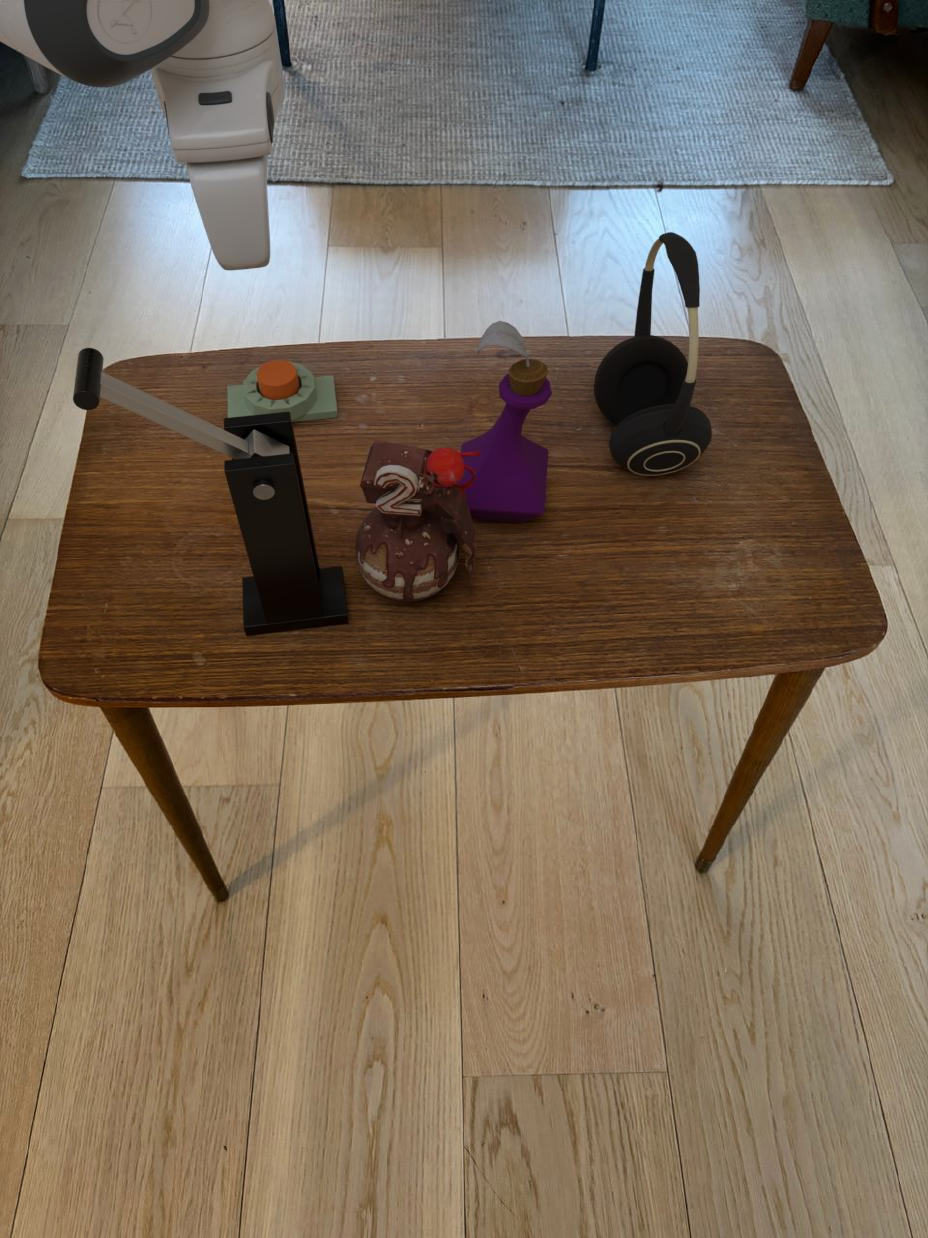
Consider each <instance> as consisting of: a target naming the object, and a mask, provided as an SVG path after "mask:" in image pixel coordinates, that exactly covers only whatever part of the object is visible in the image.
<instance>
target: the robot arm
mask: <svg viewBox="0 0 928 1238" xmlns="http://www.w3.org/2000/svg"><path fill="white" fill-rule="evenodd" d="M0 43H2V44H4V45H6V46H7V47H10V48H11V49H13V50H14V51H16V52H18V53H19V54H21V55H23V56H25V57H27V58H29V59H30V60H32V61H35V62H36V63H37V64H39V65H41V66H43V67H45V68H47V69H48V70H51V71H52V72H54V73H56V74H58V75H60V76H63V77H64V78H66V79H67V80H71V81H74V82H76V83H78V84H79V85H83V86H87V87H92V88H100V89H101V88H112V87H118V86H121V85H124V84H126V83H129V82H131V81H133V80H134V79H136V78H139V77H140V76H142V75H144V74H145V73H147V72H149V71H150V72H151V75H152V79H153V83H154V87H155V92H156V95H157V99H158V103H159V107H160V109H161V111H162V112H163V115H164V117H165V119H166V127H167V132H168V133H167V134H168V137H169V143H170V146H171V150H172V155H173V158H174V160H175V162H176V163H179V164H185V166H186V171H187V175H188V179H189V183H190V187H191V189H192V194H193V196H194V199H195V203H196V206H197V209H198V212H199V216H200V219H201V221H202V224H203V227H204V231H205V233H206V236H207V239H208V243H209V245H210V248H211V251H212V254H213V256H214V259H215V260H216V262H217V264H218V265H219V266H220V267H221V269H223V270H224V271H243V270H244V271H245V270H252V269H260V268H265V267H267V266H268V265H269V264H270V261H271V230H270V213H269V198H268V156H270V155H272V153H273V143H274V132H275V131H274V129H275V124H276V121H277V117H278V115H279V111H280V107H281V106H282V104H283V102H284V100H285V98H286V92H287V90H286V83H285V78H284V77H285V76H284V71H283V63H282V56H281V50H280V44H279V37H278V30H277V24H276V18H275V14H274V11H273V8H272V5H271V3H270V1H269V0H0Z"/></svg>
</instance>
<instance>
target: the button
mask: <svg viewBox="0 0 928 1238" xmlns="http://www.w3.org/2000/svg"><path fill="white" fill-rule="evenodd" d="M288 361H289V360H283V359H274V360H269V361H267V362H264V363H263V364H261V366H259V367H260V368H259V367H258V368H259V369H258V371H257V379H258V384H259V388H260V392H261V394H262V395H263V396H264V397H266V398H268V399H270V400H282V399H287V398H289V397H291V396H293V395H295V394H296V392H297V391H298V389H299V381H298V376H297V370H296V368H295V366H294V365H293V364H292V363H290V362H291V361H289V362H288Z"/></svg>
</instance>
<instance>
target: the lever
mask: <svg viewBox="0 0 928 1238" xmlns="http://www.w3.org/2000/svg"><path fill="white" fill-rule="evenodd" d="M76 361H77V362H76V369H75V378H74V379H75V380H74V386H73V394H72V401H73V404H74V405H75V406H76V407H77V408H79V409H80V410H83V411H93V410H95V409H96V408H98V406H99V405H100V402H101V401H100V400H101V399H103V400H105V401H107V402H109V403H111V404H114V405H116V406H118V407H120V408H123V409H125V410H127V411H129V412H132V413H134V414H136V415H138V416H140V417H142V418H144V419H147V420H149V421H151V422H153V423H155V424H157V425H160V426H162V427H164V428H167V429H168V430H170V431H172V432H175V433H176V434H178V435H181V436H184V437H185V438H188V439H190V440H192V441H194V442H197V443H198V444H200V445H203V446H205V447H207V448H209V449H211V450H213V451H216V452H218V453H220V454H222V455H225V456H226V457H229V458H231V459H232V458H233V459H243V458H253V457H262V456H271V455H281V454H290V451H289V446H287V445H285V444H283V443H281V442H279V441H277V440H275V439H273V438H271V437H269V436H267V435H265V434H262V433H260V432H258V431H256V430H253V431H252V432H251V433H250V434H249V435H248V437H247V438H246V439H245V440H244V439H242V438H240V437H238V436H235V435H233V434H231V433H229V432H227V431H225V430H224V428H221V427H218V426H216V425H215V424H212V423H210V422H208V421H206V420H204V419H202V418H200V417H198V416H195V414H194V415H193V414H192V413H189V412H187V411H186V410H183V409H181V408H179V407H177V406H175V405H172V404H170V403H169V402H167V401H164V400H162V399H160V398H158V397H156V396H154V395H152V394H149V393H147V392H145V391H143V390H141V389H139V388H137V387H135V386H133V385H130V384H129V383H126V382H125V381H122V380H120V379H118V378H116V377H114V376H112V375H110V374H108V373H106V372H104V370H103V369H104V356H103V354H102V353H101V351H99V350H98V349H96V348H94V347H84V348H82V349H81V350H79V352H78V354H77V360H76Z"/></svg>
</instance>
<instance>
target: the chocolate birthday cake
mask: <svg viewBox="0 0 928 1238" xmlns="http://www.w3.org/2000/svg"><path fill="white" fill-rule="evenodd" d="M480 452H481V450H480V451H475V452H464V453H463V452H461V451H457V450H456V449H454V448H452V447H439V448H436V449H435V450H430V449H426V448H422V447H417V446H411V445H407V444H400V443H395V442H391V441H390V442H389V441H385V440H379V439H375V440H374V441H373V443H372V444H371V445H370V448H369V451H368V455H367V458H366V462H365V466H364V469H363V472H362V476H361V480H360V483H359V487H360V488H361V490H362V492H363V493H362V494H363V495H364V498H365V501H366V503H367V504H375V506H374V507H373V508H372V509H371V510H370V512H368V514H367V515H366V516H365V517H364V519H363V520H362V522H361V524H360V526H359V528H358V530H357V534H356V538H355V557H356V561H357V565H358V568H359V569H358V570H359V572H360V574H361V576H362V577H363V579H364V581H366V583H367V585H368V586H369V587H371V588H372V590H374V591H375V592H376V593H378V594H379V595H380V596H383V597H385V598H387V599H389V600H394V601H398V602H411V603H412V602H418V601H423V600H426V599H428V598H430V597H433V596H435V595H436V594H438V593H439V592H440V591H442V590H443V589H444V588H445V587H446V586H447V585H448V584H449V582H450V581H451V580H452V579H453V577H454V574H455V572H456V570H457V566H458V564H459V561H460V549H461V550H463V551H465V552H466V557H465V563H464V565H465V568H466V569H467V571H468V573H469V576H470V582H469V583H470V584H469V586H471V585H472V579H473V572H474V568H475V567H474V566H475V561H476V554H477V546H478V545H477V544H475V536H476V528H475V526H474V522H473V518H472V517H471V514H470V510H469V506H468V502H467V498H466V495H465V491H464V490H465V489H467V488H470V487H471V485H472V483H473V481H474V480H475V474H476V473H475V471H474V470H473V469H472V468H471V467H469V466H467V465H465V464H464V462H463V459H462V457H461V456H463V457H464V456H476V455H479V454H480ZM464 468H465V469H466V470H468V471H470V473H471V474H472V476H473V477H472V479H471V480H470V481H469V482H467V483H463V484H456V482H458V481H459V480H460V479H461V478H462V477H463V476H464ZM468 591H469V592H470V589H468Z"/></svg>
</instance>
